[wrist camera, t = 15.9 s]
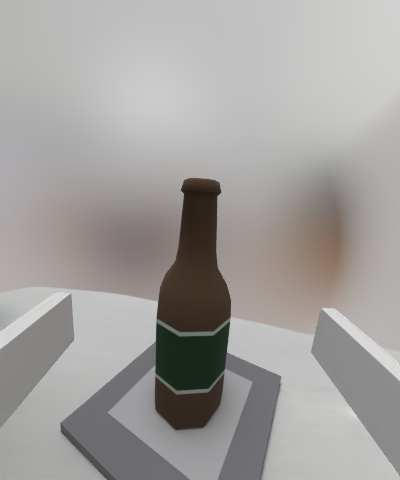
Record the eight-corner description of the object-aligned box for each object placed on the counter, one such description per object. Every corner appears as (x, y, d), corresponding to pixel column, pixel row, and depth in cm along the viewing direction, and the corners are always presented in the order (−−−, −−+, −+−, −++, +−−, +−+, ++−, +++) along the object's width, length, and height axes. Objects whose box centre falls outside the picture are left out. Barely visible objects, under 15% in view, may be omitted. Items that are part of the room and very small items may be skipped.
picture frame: (61, 431, 21) (60, 422, 20) (171, 333, 36) (171, 327, 36) (233, 609, 12) (235, 597, 12) (280, 382, 28) (281, 375, 28)
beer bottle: (235, 411, 23) (264, 182, 18) (167, 451, 19) (180, 172, 14) (199, 361, 29) (213, 183, 24) (144, 383, 25) (146, 177, 20)
